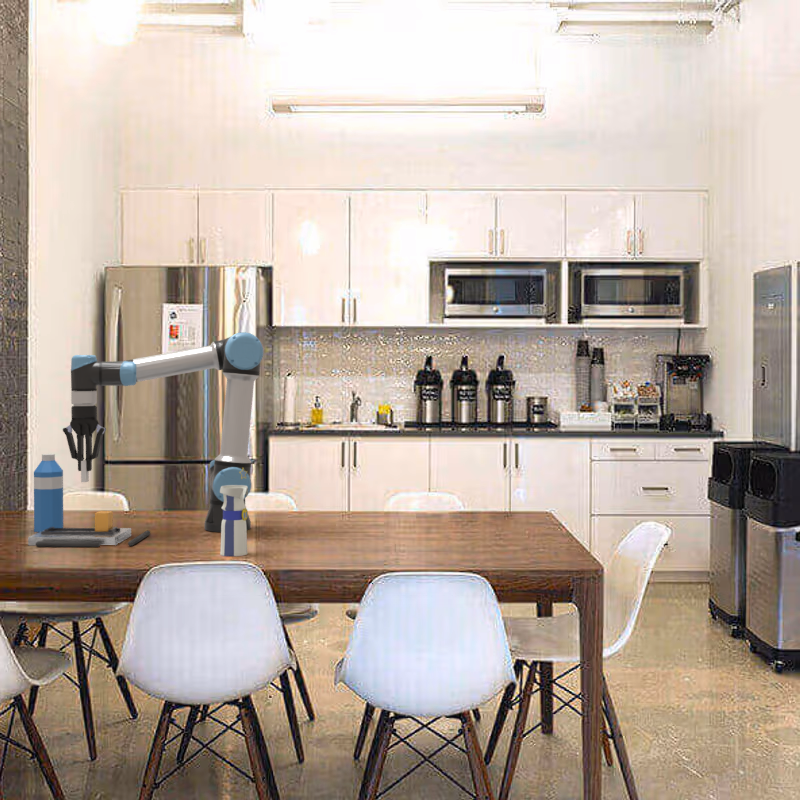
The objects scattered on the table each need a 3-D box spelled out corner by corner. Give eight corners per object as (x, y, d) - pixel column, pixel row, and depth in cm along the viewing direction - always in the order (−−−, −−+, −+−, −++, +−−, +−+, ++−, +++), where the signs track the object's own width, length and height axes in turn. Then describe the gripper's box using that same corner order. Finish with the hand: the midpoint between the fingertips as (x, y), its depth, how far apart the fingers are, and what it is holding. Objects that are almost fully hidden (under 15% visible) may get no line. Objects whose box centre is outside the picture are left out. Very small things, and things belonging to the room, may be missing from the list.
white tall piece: (253, 551, 292) (253, 465, 292) (242, 556, 284) (242, 468, 283) (227, 550, 294) (226, 465, 294) (215, 555, 286) (215, 467, 285)
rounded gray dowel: (145, 535, 321) (145, 530, 321) (150, 535, 321) (150, 530, 321) (127, 546, 300) (127, 541, 300) (132, 546, 300) (132, 541, 300)
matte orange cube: (112, 530, 314) (112, 511, 314) (108, 532, 309) (108, 513, 309) (99, 530, 314) (99, 511, 314) (95, 532, 309) (94, 513, 309)
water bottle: (54, 533, 326) (53, 455, 325) (28, 532, 328) (27, 455, 327) (69, 528, 335) (68, 453, 334) (43, 527, 337) (43, 453, 336)
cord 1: (100, 546, 301) (99, 541, 300) (98, 547, 299) (98, 542, 299) (36, 546, 301) (36, 541, 301) (34, 547, 299) (34, 541, 299)
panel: (131, 535, 320) (131, 524, 320) (115, 545, 302) (115, 532, 302) (49, 535, 320) (49, 523, 320) (28, 545, 302) (28, 532, 302)
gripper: (108, 404, 314) (109, 480, 315) (67, 404, 314) (67, 480, 315) (101, 405, 306) (102, 483, 307) (58, 405, 306) (59, 483, 307)
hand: (85, 481), depth 311 cm, fingers closed
